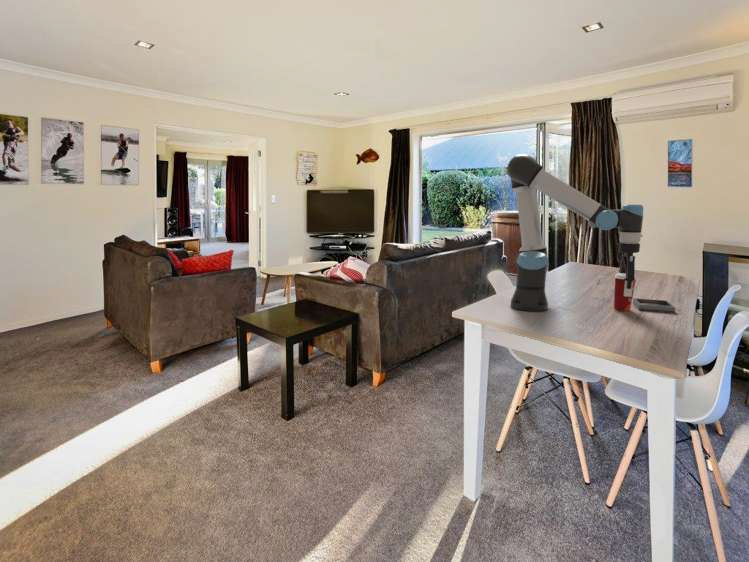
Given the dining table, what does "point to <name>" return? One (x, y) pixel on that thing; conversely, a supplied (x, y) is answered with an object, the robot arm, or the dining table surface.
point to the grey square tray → (653, 305)
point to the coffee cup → (622, 293)
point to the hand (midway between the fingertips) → (624, 293)
